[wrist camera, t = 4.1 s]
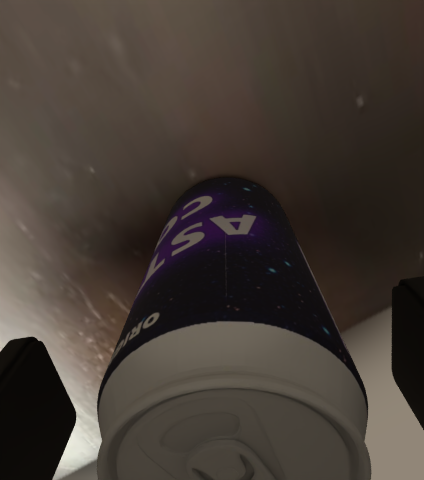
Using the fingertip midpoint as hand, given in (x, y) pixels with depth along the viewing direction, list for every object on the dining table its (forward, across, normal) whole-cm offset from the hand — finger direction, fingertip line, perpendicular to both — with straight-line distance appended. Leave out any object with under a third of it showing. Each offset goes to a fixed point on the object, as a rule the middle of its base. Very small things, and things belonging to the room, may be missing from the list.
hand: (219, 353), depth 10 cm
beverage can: (+9, 0, 0) cm, 9 cm away
